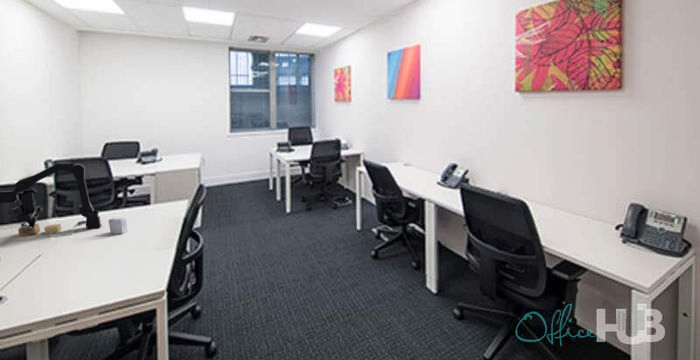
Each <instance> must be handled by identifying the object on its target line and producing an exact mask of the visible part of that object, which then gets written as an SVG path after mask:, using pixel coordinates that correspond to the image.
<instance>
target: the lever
mask: <svg viewBox="0 0 700 360" xmlns="http://www.w3.org/2000/svg"><path fill="white" fill-rule="evenodd" d="M28 225H29V224H27V222H21V223H20V228H23V229H25V230H26V231H32V226H28Z"/></svg>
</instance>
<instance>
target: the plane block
mask: <svg viewBox="0 0 700 360" xmlns="http://www.w3.org/2000/svg"><path fill="white" fill-rule="evenodd" d="M27 225H28V226H30V225H29V224H27ZM17 231H18V234H19V238H21V237H22V238H23V237H29V236H36V235H37V234H38V233H40V232H41V228H40V224H39V223H35V226H34V228H32V231H26V230H25V229H23V228H21V227H20V228H18V229H17Z"/></svg>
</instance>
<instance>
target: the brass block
mask: <svg viewBox="0 0 700 360" xmlns="http://www.w3.org/2000/svg"><path fill="white" fill-rule="evenodd" d="M43 229H44V234H45V235H49V234H57V233H58V232H62V226H61V223H57V224H48V225H46V226H44V228H43Z"/></svg>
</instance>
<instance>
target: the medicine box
mask: <svg viewBox="0 0 700 360" xmlns="http://www.w3.org/2000/svg"><path fill="white" fill-rule="evenodd" d="M108 224H109V225H108V226H109V232H110V234H121V235H123V234H125V233H127V232H129V229H128V222H127V217H119V216H118V217H116V216H114V217H111V218H109V219H108Z"/></svg>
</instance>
